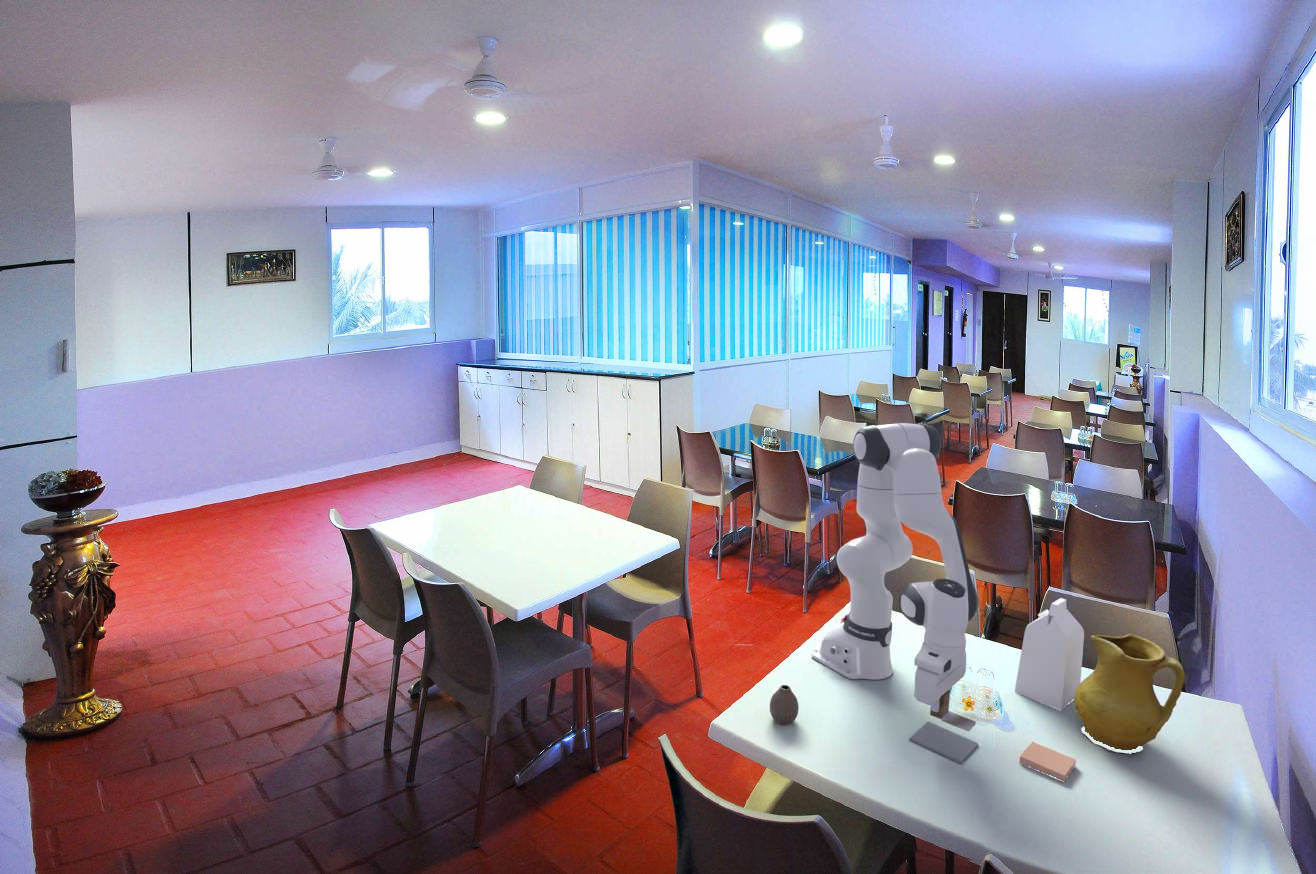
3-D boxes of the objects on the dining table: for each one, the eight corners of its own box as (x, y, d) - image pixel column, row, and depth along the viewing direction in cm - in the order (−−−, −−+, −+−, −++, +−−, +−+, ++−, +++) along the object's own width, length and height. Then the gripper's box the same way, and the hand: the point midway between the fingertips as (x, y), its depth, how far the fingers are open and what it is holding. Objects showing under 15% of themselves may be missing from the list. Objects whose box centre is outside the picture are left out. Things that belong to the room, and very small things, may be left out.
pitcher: (1097, 709, 175) (1114, 619, 169) (1177, 754, 159) (1199, 657, 153) (1053, 726, 168) (1068, 633, 162) (1131, 776, 152) (1152, 675, 146)
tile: (1020, 756, 153) (1064, 775, 147) (1032, 741, 159) (1076, 759, 153) (1019, 764, 154) (1063, 784, 147) (1031, 749, 159) (1075, 768, 153)
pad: (909, 740, 161) (909, 738, 161) (927, 723, 168) (927, 721, 168) (961, 764, 153) (961, 762, 153) (978, 745, 160) (978, 743, 160)
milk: (1061, 711, 175) (1073, 615, 170) (1014, 691, 183) (1025, 599, 179) (1079, 695, 182) (1092, 603, 178) (1034, 677, 191) (1045, 589, 186)
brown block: (929, 715, 160) (930, 691, 159) (936, 709, 163) (938, 685, 162) (968, 731, 154) (970, 707, 153) (975, 724, 156) (977, 700, 155)
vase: (783, 732, 163) (785, 698, 162) (763, 718, 169) (764, 685, 167) (803, 722, 167) (805, 689, 166) (782, 709, 173) (784, 677, 171)
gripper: (948, 632, 167) (944, 685, 169) (910, 660, 153) (906, 717, 155) (975, 641, 163) (970, 695, 165) (939, 670, 149) (934, 729, 151)
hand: (939, 706), depth 160 cm, fingers closed on brown block, 3 cm apart
